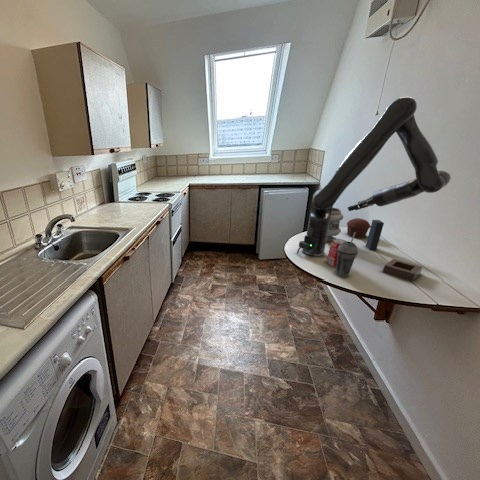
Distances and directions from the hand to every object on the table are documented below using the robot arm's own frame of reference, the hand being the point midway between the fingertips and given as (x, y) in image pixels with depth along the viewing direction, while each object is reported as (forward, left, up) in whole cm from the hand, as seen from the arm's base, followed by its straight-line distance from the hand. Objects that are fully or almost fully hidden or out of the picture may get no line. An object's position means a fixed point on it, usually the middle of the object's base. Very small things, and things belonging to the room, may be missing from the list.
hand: (353, 206), depth 136 cm
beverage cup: (-29, -21, -23) cm, 42 cm away
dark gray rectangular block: (+10, -7, -22) cm, 26 cm away
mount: (-5, -30, -22) cm, 38 cm away
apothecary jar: (+1, +12, -23) cm, 26 cm away
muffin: (+21, +9, -23) cm, 32 cm away
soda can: (-23, -13, -23) cm, 35 cm away
